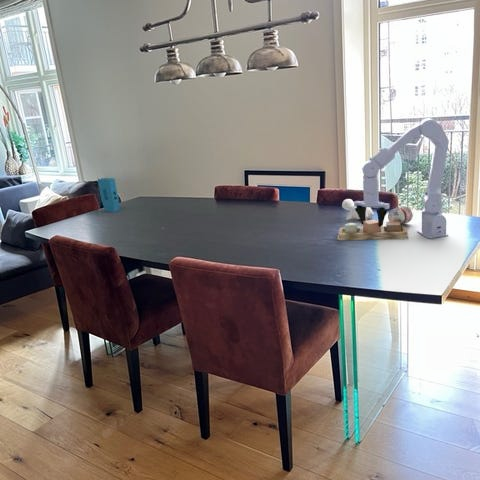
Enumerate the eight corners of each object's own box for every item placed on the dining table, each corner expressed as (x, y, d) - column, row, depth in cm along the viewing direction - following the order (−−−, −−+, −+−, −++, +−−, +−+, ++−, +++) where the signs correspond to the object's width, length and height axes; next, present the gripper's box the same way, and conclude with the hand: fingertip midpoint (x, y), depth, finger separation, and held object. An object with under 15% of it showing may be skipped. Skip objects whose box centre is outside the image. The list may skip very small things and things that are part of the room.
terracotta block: (374, 231, 193) (374, 219, 191) (380, 234, 188) (380, 222, 186) (363, 233, 192) (363, 221, 190) (369, 236, 187) (369, 224, 185)
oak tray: (406, 230, 191) (406, 225, 190) (408, 238, 182) (408, 232, 181) (338, 232, 198) (338, 227, 197) (337, 240, 189) (337, 234, 188)
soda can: (398, 225, 202) (390, 227, 192) (393, 209, 202) (385, 210, 193) (415, 220, 198) (408, 223, 188) (410, 204, 198) (403, 205, 188)
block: (103, 211, 294) (96, 179, 289) (109, 209, 298) (103, 178, 292) (114, 212, 287) (108, 180, 281) (121, 210, 291) (115, 178, 285)
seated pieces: (399, 230, 189) (399, 221, 188) (400, 234, 185) (400, 224, 183) (345, 232, 195) (344, 223, 194) (344, 236, 190) (344, 226, 189)
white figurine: (372, 223, 216) (346, 209, 224) (377, 207, 211) (351, 193, 220) (361, 228, 211) (335, 213, 219) (367, 212, 206) (340, 197, 214)
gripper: (393, 190, 182) (393, 224, 186) (359, 188, 192) (361, 220, 196) (384, 194, 178) (384, 228, 182) (350, 192, 188) (352, 225, 192)
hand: (371, 224), depth 189 cm, fingers open, 7 cm apart
